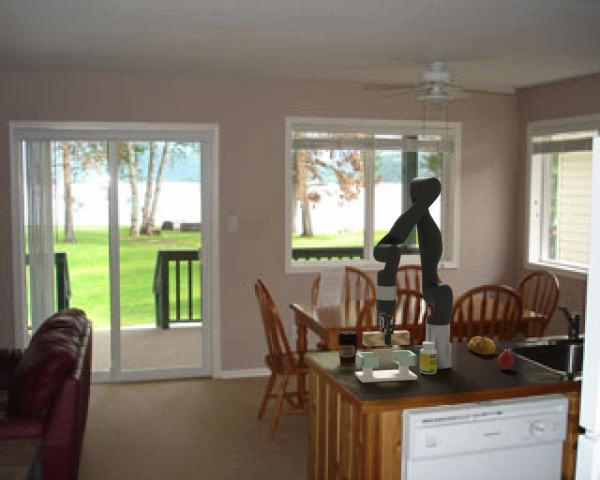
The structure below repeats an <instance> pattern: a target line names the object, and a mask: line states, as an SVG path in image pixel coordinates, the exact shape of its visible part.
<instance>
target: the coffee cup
mask: <svg viewBox="0 0 600 480" xmlns="http://www.w3.org/2000/svg"><path fill="white" fill-rule="evenodd" d="M337 340H338V341H337V342H338V353H339V354H338V355H339V364H340V365H342V366H355V365H356V364H357V361H356V353H358V341H359V335H358V332H357V331H353V330H346V331H345V330H344V331H340V332H339V333H338V335H337Z"/></svg>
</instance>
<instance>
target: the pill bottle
mask: <svg viewBox="0 0 600 480" xmlns="http://www.w3.org/2000/svg"><path fill="white" fill-rule="evenodd" d="M434 347H435V343H434V342H430V341H426V340H425V341H422V348H420V350H419V372H420V373H421V374H424V375H435V374H436V373H437V372H438V369H437V350H436V349H434Z"/></svg>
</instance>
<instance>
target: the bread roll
mask: <svg viewBox="0 0 600 480" xmlns="http://www.w3.org/2000/svg"><path fill="white" fill-rule="evenodd" d="M467 349H468V350H469V351H471V352H472V353H474V354H476V355H480V356H489V355H493V354H494V353H495V351H496V350H497V348H496V344H495V342H494V341H493V340H492V339H491V338H486V337H482V336H480V335H479V336H478V335H476V336H474V337H471V339H470V340H469V343H467Z"/></svg>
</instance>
